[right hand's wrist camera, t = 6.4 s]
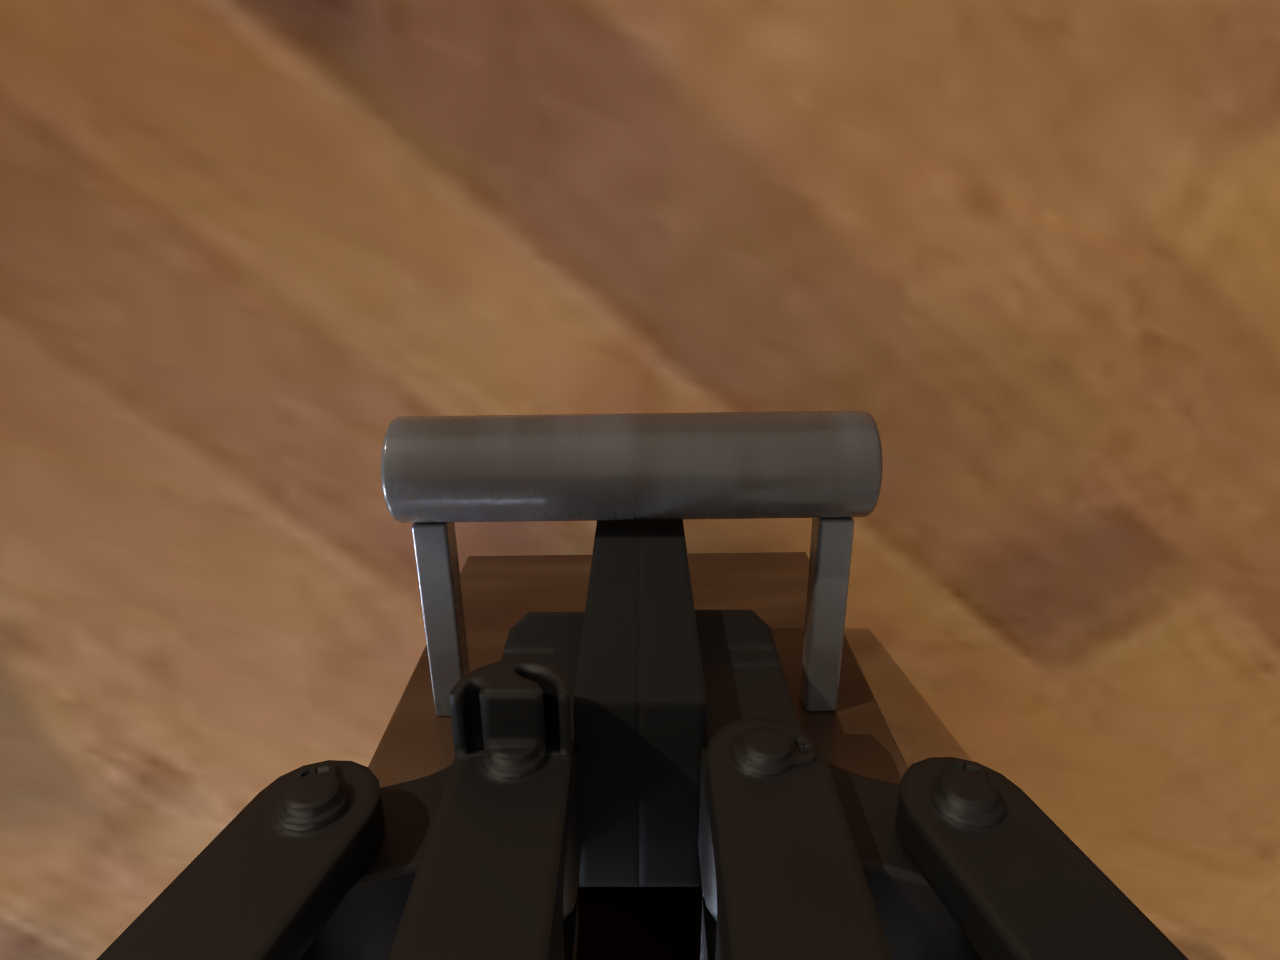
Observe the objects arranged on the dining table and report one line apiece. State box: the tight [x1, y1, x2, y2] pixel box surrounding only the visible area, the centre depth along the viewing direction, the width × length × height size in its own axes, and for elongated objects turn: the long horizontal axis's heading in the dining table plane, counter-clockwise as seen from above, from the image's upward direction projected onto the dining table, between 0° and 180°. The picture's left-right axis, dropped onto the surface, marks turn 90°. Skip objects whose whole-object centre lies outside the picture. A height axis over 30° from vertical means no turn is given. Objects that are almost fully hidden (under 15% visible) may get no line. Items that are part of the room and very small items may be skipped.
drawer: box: [368, 411, 908, 960], centre depth 18 cm, size 24×9×9 cm, turn 1°
